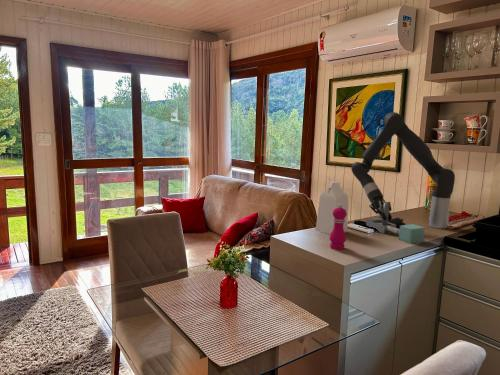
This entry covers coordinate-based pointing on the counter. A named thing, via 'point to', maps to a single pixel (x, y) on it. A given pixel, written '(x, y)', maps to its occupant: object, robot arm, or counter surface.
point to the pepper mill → (338, 229)
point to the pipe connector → (396, 222)
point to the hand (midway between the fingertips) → (388, 219)
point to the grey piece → (385, 222)
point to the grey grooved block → (379, 225)
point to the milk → (331, 208)
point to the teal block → (411, 233)
